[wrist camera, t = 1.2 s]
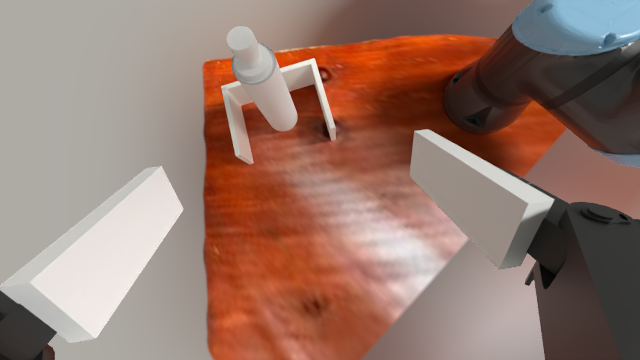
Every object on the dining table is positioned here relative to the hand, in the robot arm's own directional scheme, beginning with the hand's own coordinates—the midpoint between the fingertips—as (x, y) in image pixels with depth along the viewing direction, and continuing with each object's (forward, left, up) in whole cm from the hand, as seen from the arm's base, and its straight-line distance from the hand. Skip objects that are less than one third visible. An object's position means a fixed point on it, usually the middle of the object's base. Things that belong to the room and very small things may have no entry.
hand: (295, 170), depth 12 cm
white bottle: (+4, -22, -36) cm, 43 cm away
